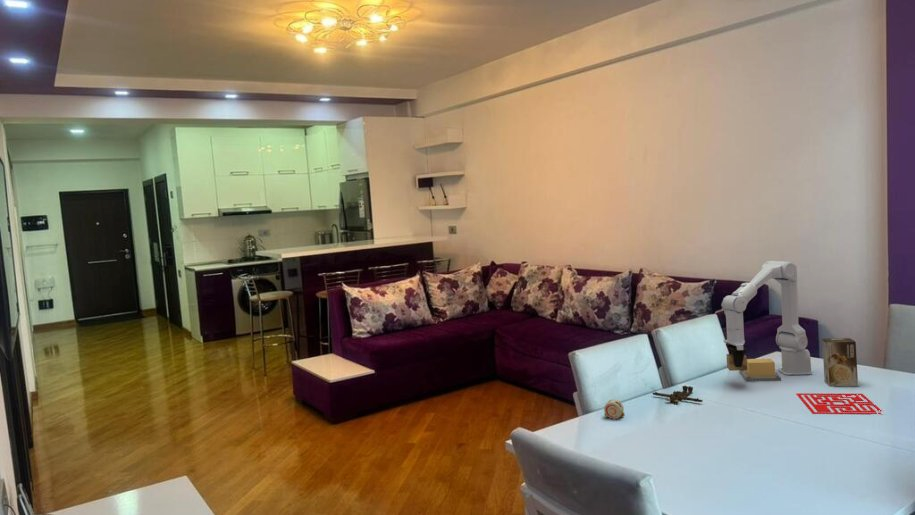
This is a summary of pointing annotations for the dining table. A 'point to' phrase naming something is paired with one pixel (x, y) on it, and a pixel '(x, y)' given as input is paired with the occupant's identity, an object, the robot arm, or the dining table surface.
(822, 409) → the maze puzzle
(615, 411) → the cinnamon roll
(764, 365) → the brick
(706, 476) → the dining table surface
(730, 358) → the walnut block
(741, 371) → the base plate
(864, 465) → the dining table surface
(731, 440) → the dining table surface
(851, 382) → the coffee box
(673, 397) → the brown crossed rod frame
